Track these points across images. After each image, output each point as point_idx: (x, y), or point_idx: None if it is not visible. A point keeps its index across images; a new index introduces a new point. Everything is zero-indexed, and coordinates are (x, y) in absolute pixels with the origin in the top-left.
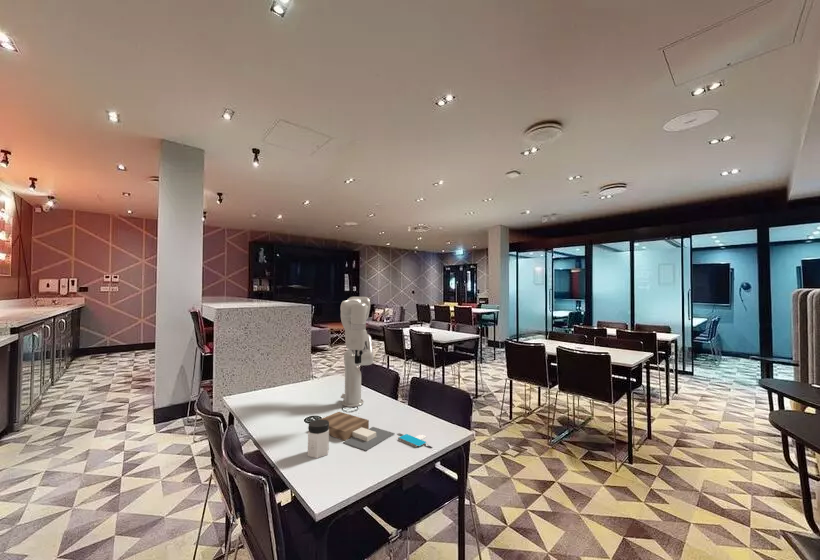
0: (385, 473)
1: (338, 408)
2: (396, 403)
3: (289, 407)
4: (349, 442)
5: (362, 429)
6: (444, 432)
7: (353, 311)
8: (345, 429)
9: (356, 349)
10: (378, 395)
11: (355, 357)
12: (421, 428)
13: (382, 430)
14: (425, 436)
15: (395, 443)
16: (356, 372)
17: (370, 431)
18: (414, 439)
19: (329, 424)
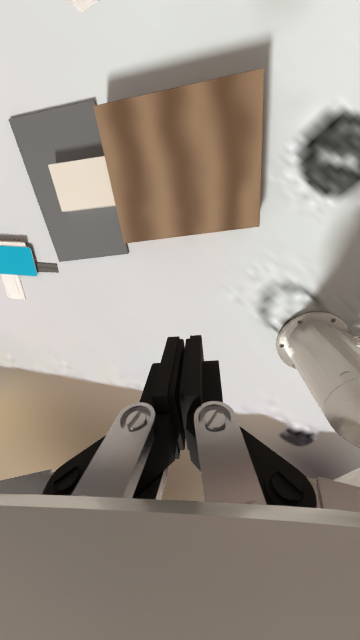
0: None
1: (323, 288)
2: None
3: None
4: (79, 115)
5: (102, 194)
6: (10, 336)
7: None
8: (108, 122)
9: (50, 513)
10: (286, 415)
11: (185, 376)
12: (52, 324)
13: (91, 253)
14: (10, 296)
15: (14, 221)
16: (345, 416)
17: (75, 202)
18: (1, 264)
19: (188, 104)
